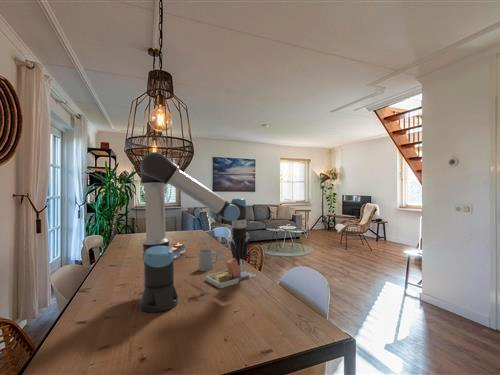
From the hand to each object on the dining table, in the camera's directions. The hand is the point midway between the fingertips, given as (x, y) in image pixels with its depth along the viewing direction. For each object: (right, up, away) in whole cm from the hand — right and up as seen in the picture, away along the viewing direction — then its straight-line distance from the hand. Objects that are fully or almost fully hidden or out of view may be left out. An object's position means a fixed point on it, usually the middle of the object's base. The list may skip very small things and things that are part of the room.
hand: (240, 270), depth 136 cm
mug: (-20, -5, +17) cm, 27 cm away
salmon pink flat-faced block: (-3, -3, -2) cm, 4 cm away
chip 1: (-10, -4, -8) cm, 13 cm away
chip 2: (-7, -4, -5) cm, 9 cm away
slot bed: (+1, -4, +1) cm, 4 cm away
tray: (-9, -4, -7) cm, 12 cm away
